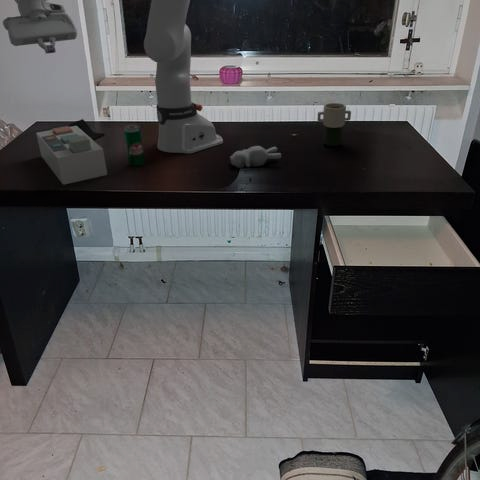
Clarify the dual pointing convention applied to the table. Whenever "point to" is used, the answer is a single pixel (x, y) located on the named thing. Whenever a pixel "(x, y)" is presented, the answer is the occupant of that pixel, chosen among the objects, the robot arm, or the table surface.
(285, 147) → the table surface
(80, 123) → the handheld gaming console
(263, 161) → the bunny figurine
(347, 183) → the table surface
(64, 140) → the teal key
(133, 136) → the soda can
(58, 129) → the terracotta key
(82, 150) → the sage green key
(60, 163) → the keypad
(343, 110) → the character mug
